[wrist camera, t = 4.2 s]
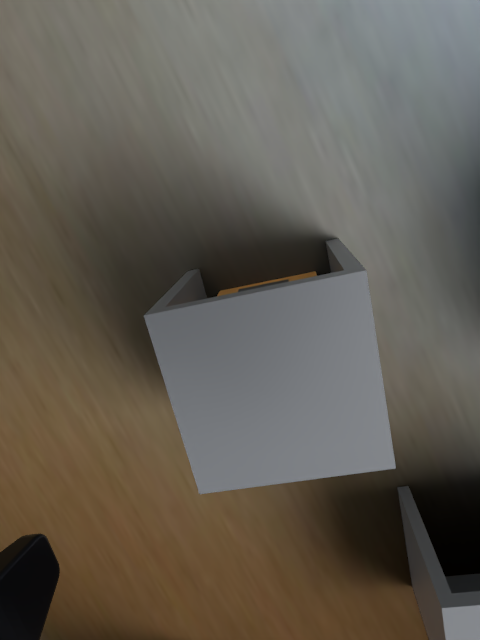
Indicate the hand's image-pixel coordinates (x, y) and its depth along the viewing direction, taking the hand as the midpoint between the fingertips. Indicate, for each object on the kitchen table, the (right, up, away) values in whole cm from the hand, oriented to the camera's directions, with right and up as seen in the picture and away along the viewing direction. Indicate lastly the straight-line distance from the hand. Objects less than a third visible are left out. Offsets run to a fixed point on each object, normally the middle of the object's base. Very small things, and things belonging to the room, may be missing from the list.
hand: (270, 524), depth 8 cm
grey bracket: (+1, +3, +10) cm, 11 cm away
